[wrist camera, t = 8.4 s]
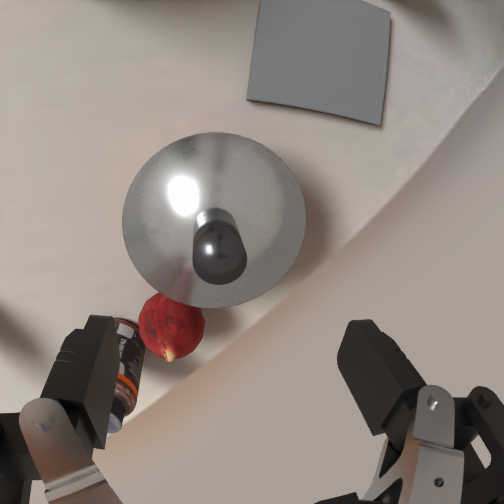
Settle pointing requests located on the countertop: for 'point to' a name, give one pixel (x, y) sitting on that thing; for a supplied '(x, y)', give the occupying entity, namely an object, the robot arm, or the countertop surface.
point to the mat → (321, 57)
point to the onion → (170, 327)
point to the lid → (214, 220)
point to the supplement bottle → (126, 373)
